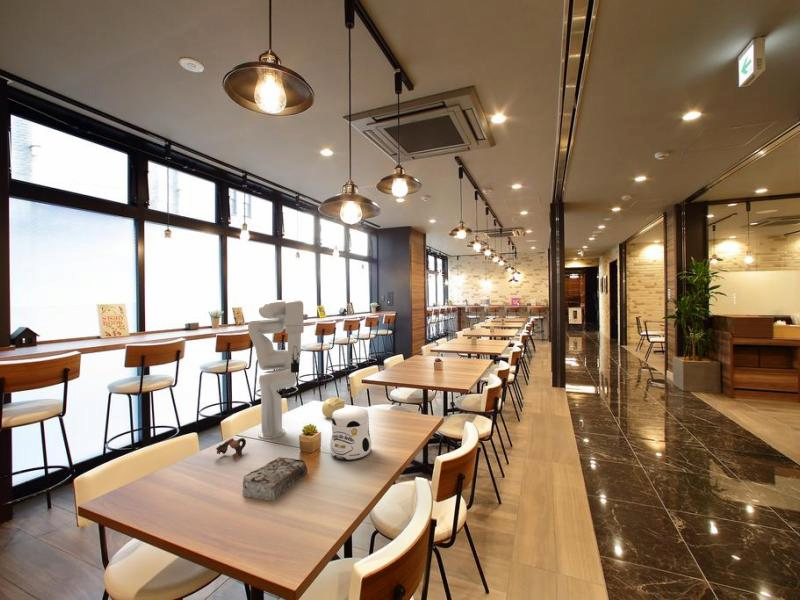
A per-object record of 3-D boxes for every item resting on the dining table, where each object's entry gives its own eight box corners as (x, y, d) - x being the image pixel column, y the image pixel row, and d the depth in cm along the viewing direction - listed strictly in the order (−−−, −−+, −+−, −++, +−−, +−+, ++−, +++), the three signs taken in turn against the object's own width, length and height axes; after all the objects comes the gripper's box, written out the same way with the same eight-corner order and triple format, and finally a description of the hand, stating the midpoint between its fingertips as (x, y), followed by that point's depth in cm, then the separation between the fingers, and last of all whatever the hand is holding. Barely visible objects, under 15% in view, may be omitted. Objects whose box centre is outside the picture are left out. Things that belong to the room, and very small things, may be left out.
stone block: (278, 473, 136) (240, 499, 117) (278, 454, 136) (239, 477, 117) (308, 475, 132) (273, 503, 112) (307, 456, 132) (273, 480, 113)
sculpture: (334, 421, 189) (334, 401, 189) (317, 417, 195) (317, 398, 195) (347, 415, 199) (347, 396, 199) (331, 412, 205) (331, 393, 205)
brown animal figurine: (229, 464, 141) (219, 446, 141) (219, 469, 146) (209, 451, 146) (254, 446, 151) (245, 430, 151) (243, 451, 156) (234, 435, 156)
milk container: (330, 466, 138) (329, 421, 138) (329, 448, 155) (329, 407, 155) (373, 461, 142) (373, 417, 142) (368, 444, 158) (368, 405, 158)
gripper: (284, 328, 155) (285, 369, 155) (285, 331, 141) (286, 376, 141) (302, 327, 158) (302, 368, 158) (304, 330, 144) (305, 375, 144)
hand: (294, 372), depth 149 cm, fingers closed
